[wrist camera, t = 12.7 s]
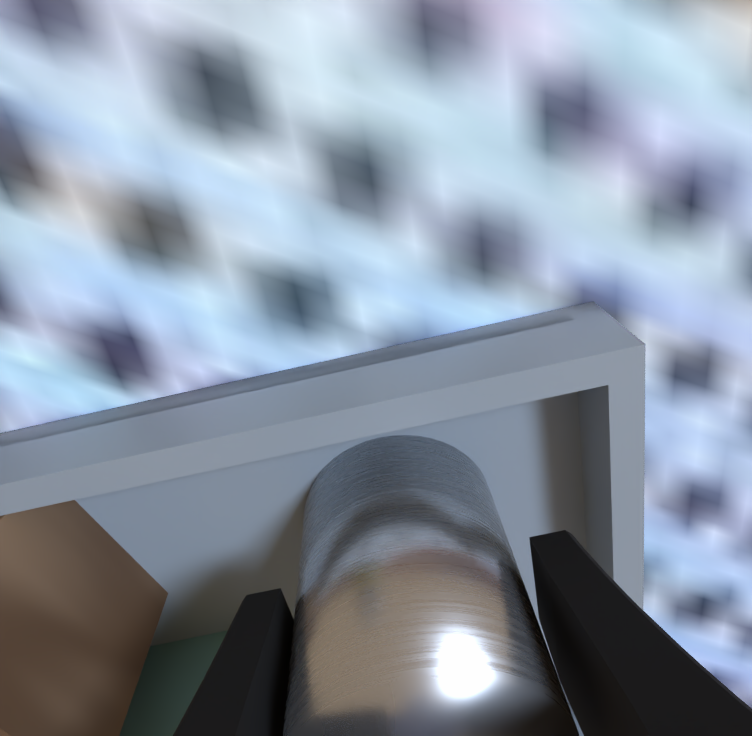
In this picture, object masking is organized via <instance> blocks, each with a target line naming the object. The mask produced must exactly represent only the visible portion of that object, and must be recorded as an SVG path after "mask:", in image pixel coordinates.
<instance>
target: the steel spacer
mask: <svg viewBox="0 0 752 736" xmlns="http://www.w3.org/2000/svg"><path fill="white" fill-rule="evenodd" d="M283 736H579V732H578V730H577V727H576V724H575V721H574V719H573V716H572V713H571V710H570V708H569V705H568V702H567V700H566V697H565V694H564V691H563V689H562V686H561V683H560V680H559V678H558V675H557V672H556V669H555V667H554V664H553V661H552V659H551V656H550V653H549V650H548V648H547V645H546V642H545V639H544V637H543V634H542V631H541V629H540V626H539V623H538V620H537V618H536V615H535V612H534V609H533V607H532V604H531V601H530V598H529V596H528V593H527V590H526V588H525V585H524V582H523V579H522V577H521V574H520V571H519V568H518V566H517V563H516V560H515V557H514V555H513V552H512V549H511V547H510V544H509V541H508V538H507V536H506V533H505V530H504V527H503V525H502V522H501V519H500V516H499V514H498V511H497V508H496V506H495V503H494V500H493V497H492V495H491V492H490V489H489V486H488V484H487V482H486V479H485V477H484V475H483V474H482V472H481V470H480V469H479V467H478V466H477V465H476V464H475V463H474V462H473V461H472V460H471V459H470V458H469V457H468V456H467V455H465V454H464V453H463V452H461V451H460V450H458V449H456V448H455V447H453V446H451V445H449V444H446V443H444V442H442V441H438V440H435V439H432V438H427V437H422V436H413V435H392V436H386V437H379V438H376V439H372V440H368V441H365V442H362V443H360V444H357V445H355V446H353V447H351V448H349V449H347V450H345V451H343V452H342V453H341V454H339V455H338V456H336V457H335V458H333V459H332V460H331V461H330V462H329V463H328V464H327V465H326V466H324V468H323V469H322V470H321V471H320V472H319V474H318V475H317V476H316V478H315V479H314V481H313V483H312V484H311V487H310V489H309V491H308V493H307V497H306V501H305V508H304V518H303V529H302V540H301V550H300V561H299V571H298V582H297V592H296V603H295V614H294V624H293V635H292V645H291V656H290V667H289V677H288V688H287V698H286V709H285V719H284V730H283Z"/></svg>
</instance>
